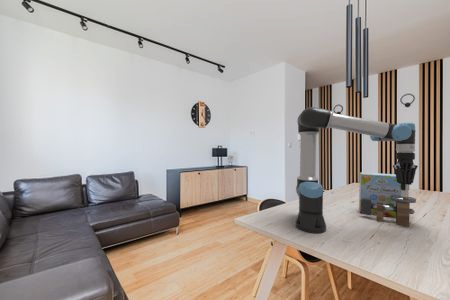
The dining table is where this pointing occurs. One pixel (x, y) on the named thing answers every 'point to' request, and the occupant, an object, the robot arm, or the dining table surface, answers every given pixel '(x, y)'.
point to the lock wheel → (403, 199)
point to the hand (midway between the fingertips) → (404, 196)
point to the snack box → (379, 190)
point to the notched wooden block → (401, 213)
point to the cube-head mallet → (368, 205)
